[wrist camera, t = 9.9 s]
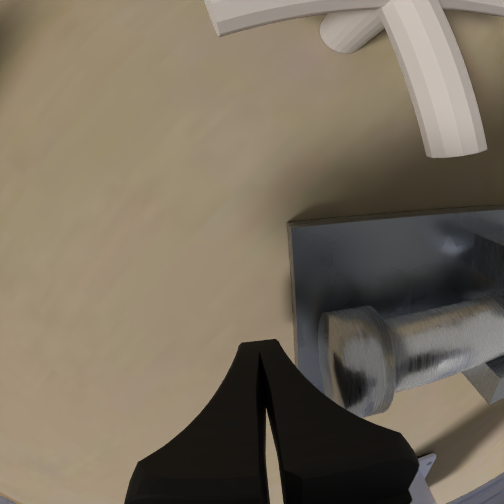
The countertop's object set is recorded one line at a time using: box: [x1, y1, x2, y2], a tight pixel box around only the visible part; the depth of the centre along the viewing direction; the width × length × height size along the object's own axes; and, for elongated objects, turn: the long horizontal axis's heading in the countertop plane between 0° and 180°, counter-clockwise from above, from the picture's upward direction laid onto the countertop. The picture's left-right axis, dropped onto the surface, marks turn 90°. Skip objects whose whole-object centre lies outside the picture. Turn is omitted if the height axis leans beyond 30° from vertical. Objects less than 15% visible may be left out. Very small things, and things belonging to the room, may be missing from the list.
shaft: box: [318, 291, 504, 418], centre depth 10 cm, size 4×14×4 cm, turn 96°
